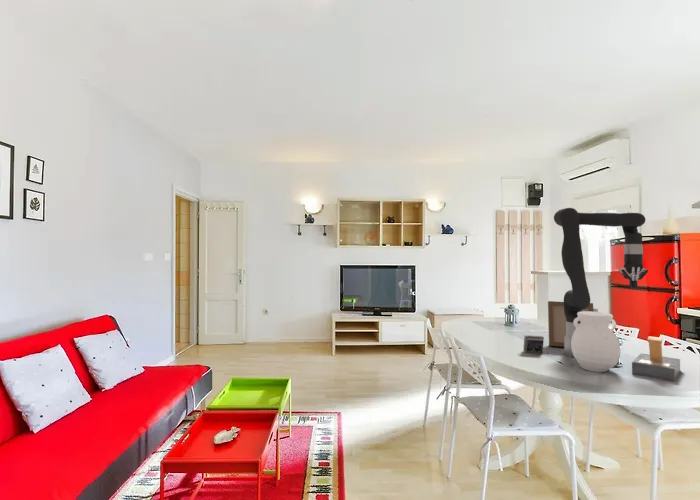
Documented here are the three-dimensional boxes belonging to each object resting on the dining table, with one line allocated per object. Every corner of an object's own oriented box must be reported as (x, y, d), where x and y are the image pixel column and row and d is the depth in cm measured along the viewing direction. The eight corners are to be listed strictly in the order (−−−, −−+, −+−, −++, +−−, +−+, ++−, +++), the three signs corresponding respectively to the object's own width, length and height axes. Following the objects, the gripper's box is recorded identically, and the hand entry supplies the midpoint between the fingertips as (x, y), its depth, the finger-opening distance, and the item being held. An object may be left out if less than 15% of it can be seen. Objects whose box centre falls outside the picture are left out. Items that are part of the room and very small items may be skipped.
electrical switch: (542, 352, 200) (542, 335, 199) (545, 355, 195) (545, 338, 194) (523, 351, 202) (523, 334, 201) (525, 354, 197) (525, 337, 196)
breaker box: (632, 373, 164) (632, 361, 164) (640, 363, 179) (640, 352, 179) (674, 381, 154) (674, 368, 154) (680, 370, 169) (680, 358, 169)
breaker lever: (649, 360, 167) (647, 339, 164) (650, 356, 169) (648, 336, 166) (662, 362, 164) (661, 341, 161) (663, 358, 166) (662, 337, 163)
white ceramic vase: (582, 374, 162) (582, 315, 162) (564, 362, 180) (564, 309, 181) (630, 376, 159) (629, 317, 160) (606, 364, 178) (606, 310, 178)
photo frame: (595, 351, 203) (595, 304, 203) (549, 347, 211) (549, 302, 212) (590, 345, 216) (589, 301, 217) (547, 342, 225) (547, 299, 226)
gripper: (623, 253, 186) (623, 288, 186) (652, 253, 185) (652, 289, 184) (614, 253, 193) (614, 287, 193) (642, 253, 192) (642, 287, 192)
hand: (633, 288), depth 189 cm, fingers closed
